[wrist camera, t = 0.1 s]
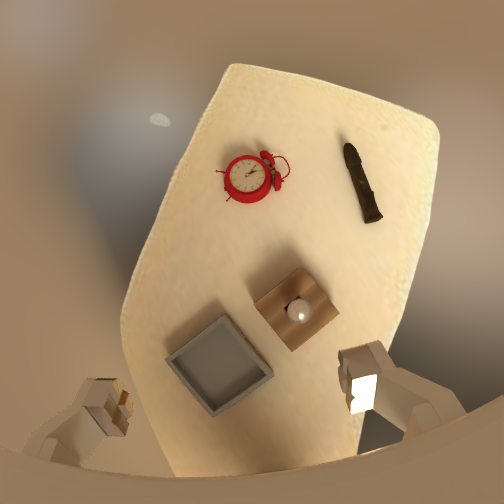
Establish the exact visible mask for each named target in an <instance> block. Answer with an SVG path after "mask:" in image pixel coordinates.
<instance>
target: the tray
mask: <svg viewBox="0 0 504 504" xmlns="http://www.w3.org/2000/svg"><path fill="white" fill-rule="evenodd" d="M165 361H166V362H167V363H168V365H169V366H170V367H171V368H172V370H173V371H174V372H175V374H176V375H177V376H178V377H179V378H180V380H181V381H182V382H183V383H184V385H185V386H186V387H187V388H188V389H189V391H190V392H191V393H192V394H193V395H194V397H195V398H196V399H197V400H198V401H199V402H200V404H201V405H202V406H203V407H204V408H205V409H206V410H207V411H208V413H209V414H210V415H211V416H212V417H215V416H216V415H218V414H220V413H221V412H223V411H224V410H226V409H227V408H229V407H230V406H232V405H233V404H235V403H236V402H238V401H239V400H241V399H242V398H244V397H245V396H246V395H248V394H249V393H251V392H252V391H254V390H255V389H256V388H258V387H259V386H261V385H262V384H264V383H265V382H266V381H268V380H269V379H270V378H272V377H273V376H274V373H273V371H272V369H271V368H270V367H269V366H268V365H267V363H266V362H265V361H264V360H263V359H262V357H261V356H260V355H259V354H258V353H257V351H256V350H255V349H254V348H253V347H252V345H251V344H250V343H249V342H248V340H247V339H246V338H245V337H244V336H243V334H242V333H241V332H240V331H239V329H238V328H237V327H236V326H235V324H234V323H233V322H232V321H231V319H230V318H229V317H228V316H227V314H224V315H223V316H222V317H220V318H219V319H218V320H217V321H215V322H214V323H213V324H211V325H210V326H209V327H207V328H206V329H205V330H204V331H202V332H201V333H200V334H198V335H197V336H196V337H194V338H193V339H192V340H190V341H189V342H188V343H186V344H185V345H184V346H183V347H181V348H180V349H179V350H177V351H176V352H175V353H173V354H172V355H171V356H169V357H168V358H167V359H165Z"/></svg>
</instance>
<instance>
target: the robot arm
mask: <svg viewBox="0 0 504 504" xmlns="http://www.w3.org/2000/svg"><path fill="white" fill-rule="evenodd" d="M338 359H339V362H340V366H339V367H338V375H339V382H340V386H341V389H342V392H344V393H346V403H347V406H348V408H349V411H350V414H353V413H357V412H361V411H365V410H369V409H373V410H375V411H376V412H377V413H379V414H380V415H382V416H383V417H385V418H386V419H387V420H389V421H390V422H391V423H393V424H394V425H396V426H397V427H398V428H400V429H401V430H403V431H404V432H405V434H404V437H403V440H402V441H401V442H398V443H395V444H393V445H389V446H386V447H383V448H380V449H377V450H373V451H370V452H367V453H363V454H360V455H356V456H352V457H348V458H344V459H340V460H336V461H331V462H327V463H322V464H318V465H313V466H307V467H302V468H296V469H290V470H283V471H276V472H269V473H260V474H251V475H239V476H224V477H155V476H154V477H153V476H140V475H130V474H120V473H111V472H104V471H98V470H91V469H85V468H84V467H82V464H83V463H84V462H85V461H86V460H87V459H88V458H89V457H90V456H91V455H92V453H93V452H94V451H95V450H96V449H97V448H98V447H99V446H100V445H101V444H102V443H103V441H104V440H105V439H106V438H107V436H117V437H125V436H126V433H127V429H128V426H129V423H128V421H127V419H128V418H130V417H131V416H132V412H133V401H132V398H131V396H130V395H129V393H127V392H126V391H124V390H123V388H124V384H123V383H122V381H121V380H120V379H117V378H113V379H112V378H97V379H94V378H93V379H92V378H87V379H86V380H84V382H83V384H82V386H81V388H80V389H79V391H78V393H77V396H76V397H75V400H74V402H73V404H72V406H67V407H66V408H65V409H63V410H62V411H61V412H59V413H58V414H57V415H55V416H54V417H53V418H51V419H50V420H49V421H47V422H46V423H44V424H43V425H42V426H40V427H39V428H38V429H36V430H35V431H34V432H32V433H31V435H30V437H29V439H28V441H27V443H26V445H25V447H24V449H23V452H22V453H19V452H16V451H12V450H9V449H6V448H4V447H1V446H0V504H504V394H503V395H502V396H500V397H498V398H496V399H494V400H493V401H491V402H489V403H487V404H485V405H484V406H482V407H480V408H478V409H476V410H474V411H472V412H470V413H468V414H467V413H466V412H465V410H464V409H463V407H462V406H461V404H460V403H459V401H458V399H457V398H456V396H455V395H454V393H453V392H452V391H451V390H449V389H447V388H444V387H442V386H440V385H437V384H435V383H433V382H431V381H429V380H427V379H424V378H422V377H420V376H418V375H416V374H414V373H411V372H409V371H407V370H405V369H402V368H396V367H395V365H394V363H393V361H392V360H391V358H390V356H389V355H388V353H387V351H386V350H385V348H384V346H383V345H382V343H381V341H379V340H377V341H373V342H370V343H366V344H363V345H359V346H355V347H351V348H347V349H343V350H339V352H338Z"/></svg>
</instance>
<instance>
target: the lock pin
mask: <svg viewBox="0 0 504 504" xmlns="http://www.w3.org/2000/svg"><path fill="white" fill-rule="evenodd" d="M287 314H288V316H289V318H290V319H291V320H292V321H293V322H295V323H298V324H301V323H305V322H307V321H308V320H309V319H310V317H311V315H312V307H311V305H310V303H309V302H308V301H306V300H304V299H295V300H293V301H292V302H291V303H290V304H289V306H288V309H287Z"/></svg>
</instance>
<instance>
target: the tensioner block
mask: <svg viewBox="0 0 504 504" xmlns="http://www.w3.org/2000/svg"><path fill="white" fill-rule="evenodd" d="M295 299H304V300H306V301H308V302H309V303H310V305H311V307H312V315H311V317H310V319H309V320H308V321H307V322H305V323H301V324H298V323H295V322H293V321H292V320H291V319H290V318H289V316H288V314H287V309H288V306H289V304H290V303H291V302H292V301H293V300H295ZM254 306H255V307H256V309H257V310H258V311H259V312H260V314H261V315H262V316H263V317H264V319H265V320H266V321H267V322H268V323H269V325H270V326H271V327H272V328H273V330H274V331H275V332H276V333H277V335H278V336H279V337H280V338H281V339H282V341H283V342H284V343H285V344H286V346H287V347H288V348H289V349H290V350H291V352H293V351H294V350H295V349H297V348H298V347H299V346H300V345H302V344H303V343H304V342H305V341H307V340H308V339H309V338H310V337H312V336H313V335H314V334H315V333H317V332H318V331H319V330H320V329H321V328H323V327H324V326H325V325H326V324H328V323H329V322H330V321H331V320H332V319H334V318H335V317H336V316H337V315H338V314H339V312H338V310H337V309H336V308H335V306H334V305H333V304H332V303H331V301H330V300H329V299H328V298H327V296H326V295H325V294H324V293H323V291H322V290H321V289H320V287H319V286H318V285H317V284H316V282H315V281H314V280H313V279H312V277H311V276H310V275H309V274H308V272H307V271H306V270H305V269H304V267H303V266H301V267H299V268H298V269H297V270H296V271H294V272H293V273H292V274H291V275H289V276H288V277H287V278H286V279H285V280H283V281H282V282H281V283H280V284H278V285H277V286H276V287H275V288H273V289H272V290H271V291H270V292H268V293H267V294H266V295H265V296H263V297H262V298H261V299H259V300H258V301H257V302H256V303H254Z"/></svg>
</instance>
